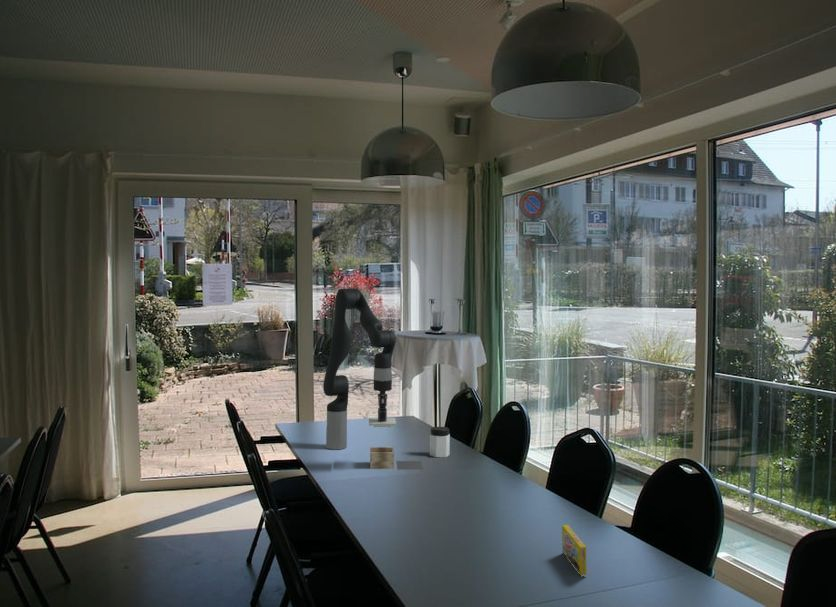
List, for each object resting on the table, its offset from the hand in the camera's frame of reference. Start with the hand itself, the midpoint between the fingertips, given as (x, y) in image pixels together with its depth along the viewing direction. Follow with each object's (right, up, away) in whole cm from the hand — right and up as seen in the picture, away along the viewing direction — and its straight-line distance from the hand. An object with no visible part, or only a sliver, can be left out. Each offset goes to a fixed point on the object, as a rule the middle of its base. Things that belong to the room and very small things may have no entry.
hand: (382, 419), depth 287 cm
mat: (+11, -20, +1) cm, 23 cm away
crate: (0, -20, +1) cm, 20 cm away
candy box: (+57, -24, -97) cm, 115 cm away
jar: (+24, -19, +20) cm, 37 cm away
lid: (0, -2, 0) cm, 2 cm away
